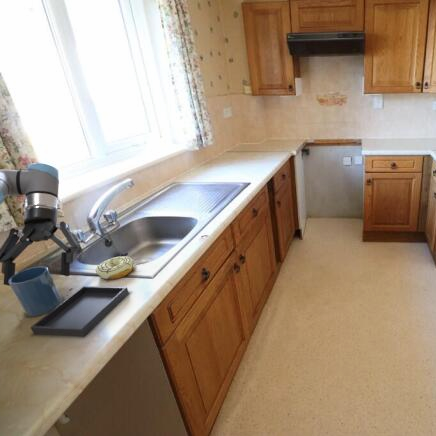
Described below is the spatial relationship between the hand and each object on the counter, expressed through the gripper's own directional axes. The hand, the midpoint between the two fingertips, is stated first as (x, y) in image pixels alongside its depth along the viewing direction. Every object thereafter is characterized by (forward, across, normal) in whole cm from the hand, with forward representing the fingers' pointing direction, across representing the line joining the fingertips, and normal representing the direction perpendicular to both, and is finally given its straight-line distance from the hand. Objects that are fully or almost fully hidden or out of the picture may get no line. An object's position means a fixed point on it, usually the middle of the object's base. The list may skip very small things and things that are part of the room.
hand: (37, 280), depth 91 cm
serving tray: (+12, -12, +1) cm, 17 cm away
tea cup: (+7, 0, -4) cm, 8 cm away
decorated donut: (-2, -15, -13) cm, 20 cm away
